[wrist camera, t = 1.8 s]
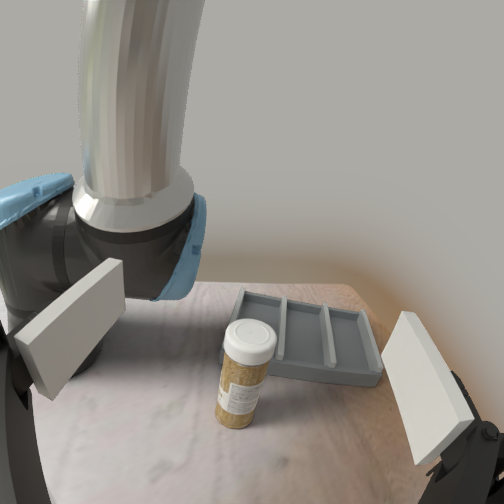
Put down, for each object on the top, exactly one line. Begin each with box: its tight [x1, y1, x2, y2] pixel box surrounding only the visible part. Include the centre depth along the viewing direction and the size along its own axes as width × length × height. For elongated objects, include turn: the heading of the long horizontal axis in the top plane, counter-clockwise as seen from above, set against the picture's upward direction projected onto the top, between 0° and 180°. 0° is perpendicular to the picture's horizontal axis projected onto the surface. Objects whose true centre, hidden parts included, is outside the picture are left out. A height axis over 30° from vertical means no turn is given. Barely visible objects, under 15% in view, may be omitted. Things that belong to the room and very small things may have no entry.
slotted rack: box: [218, 287, 384, 387], centre depth 43 cm, size 23×16×4 cm
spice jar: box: [215, 319, 277, 429], centre depth 27 cm, size 5×5×14 cm
